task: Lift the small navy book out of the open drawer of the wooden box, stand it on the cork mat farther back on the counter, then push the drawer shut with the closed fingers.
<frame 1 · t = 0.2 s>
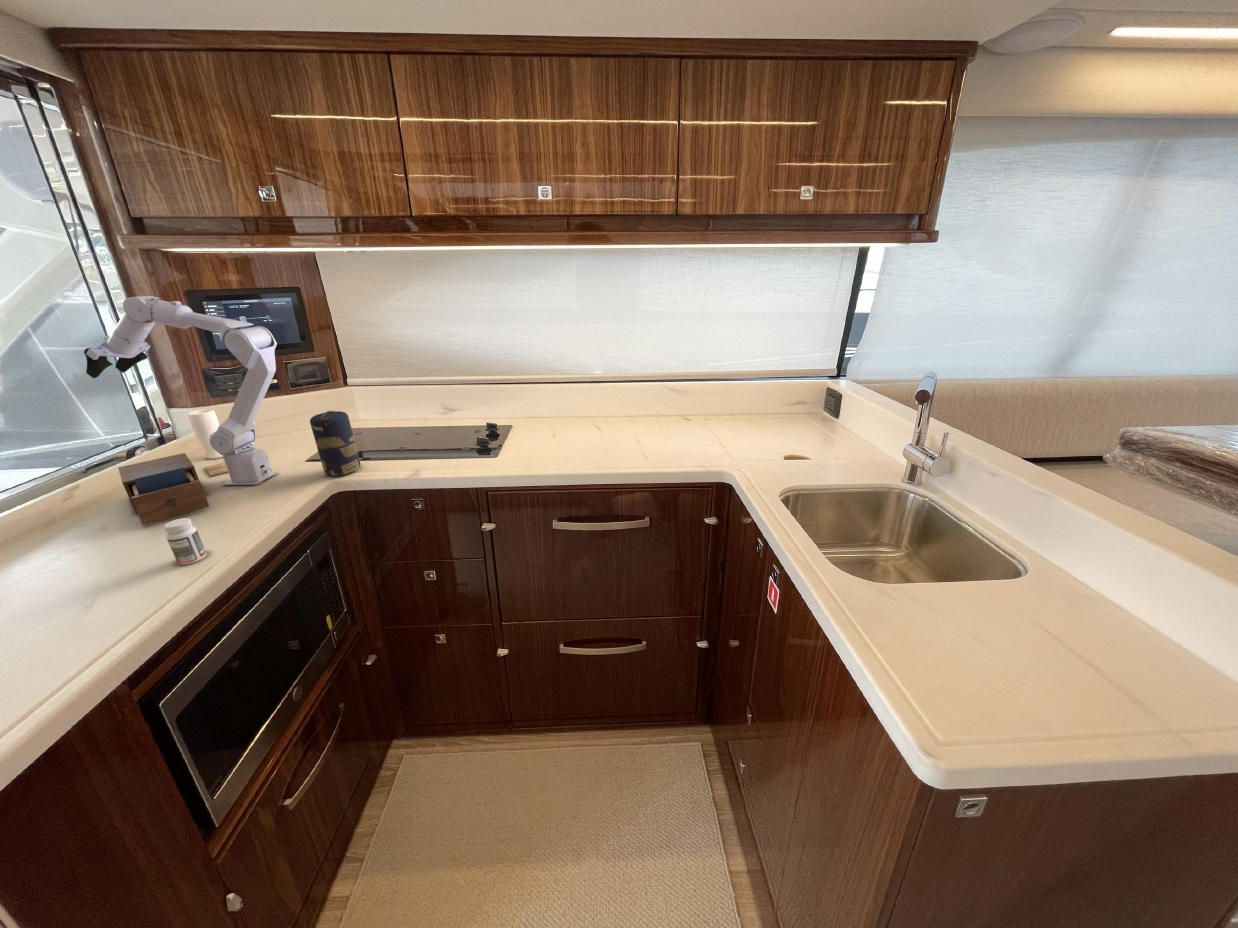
hand: (105, 372, 130), 31 cm above the worktop, tool tilted 50°, fingers open, 7 cm apart
book: (171, 503, 123), point 2 cm above the worktop, touching drawer
white tapered cylinder: (217, 457, 161), on the worktop
pill bottle: (192, 559, 101), on the worktop
wooden box: (168, 496, 132), on the worktop
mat: (228, 467, 151), on the worktop
drawer: (168, 495, 122), point 4 cm above the worktop, slide at 10.5 cm, touching book
canister: (343, 472, 144), on the worktop
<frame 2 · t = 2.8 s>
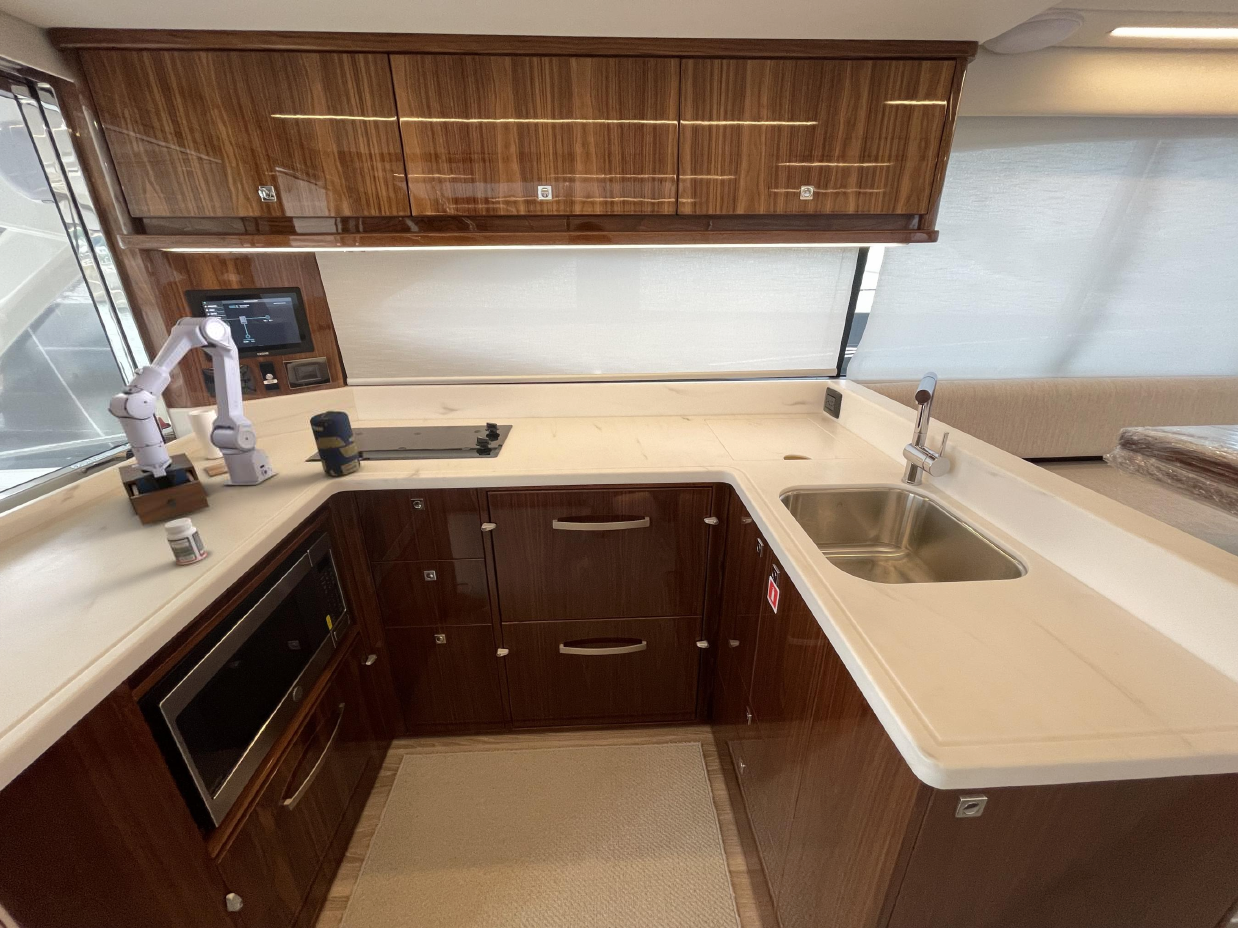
hand: (168, 496, 122), 4 cm above the worktop, tool pointing down, fingers open, 6 cm apart
nothing on the worktop moved.
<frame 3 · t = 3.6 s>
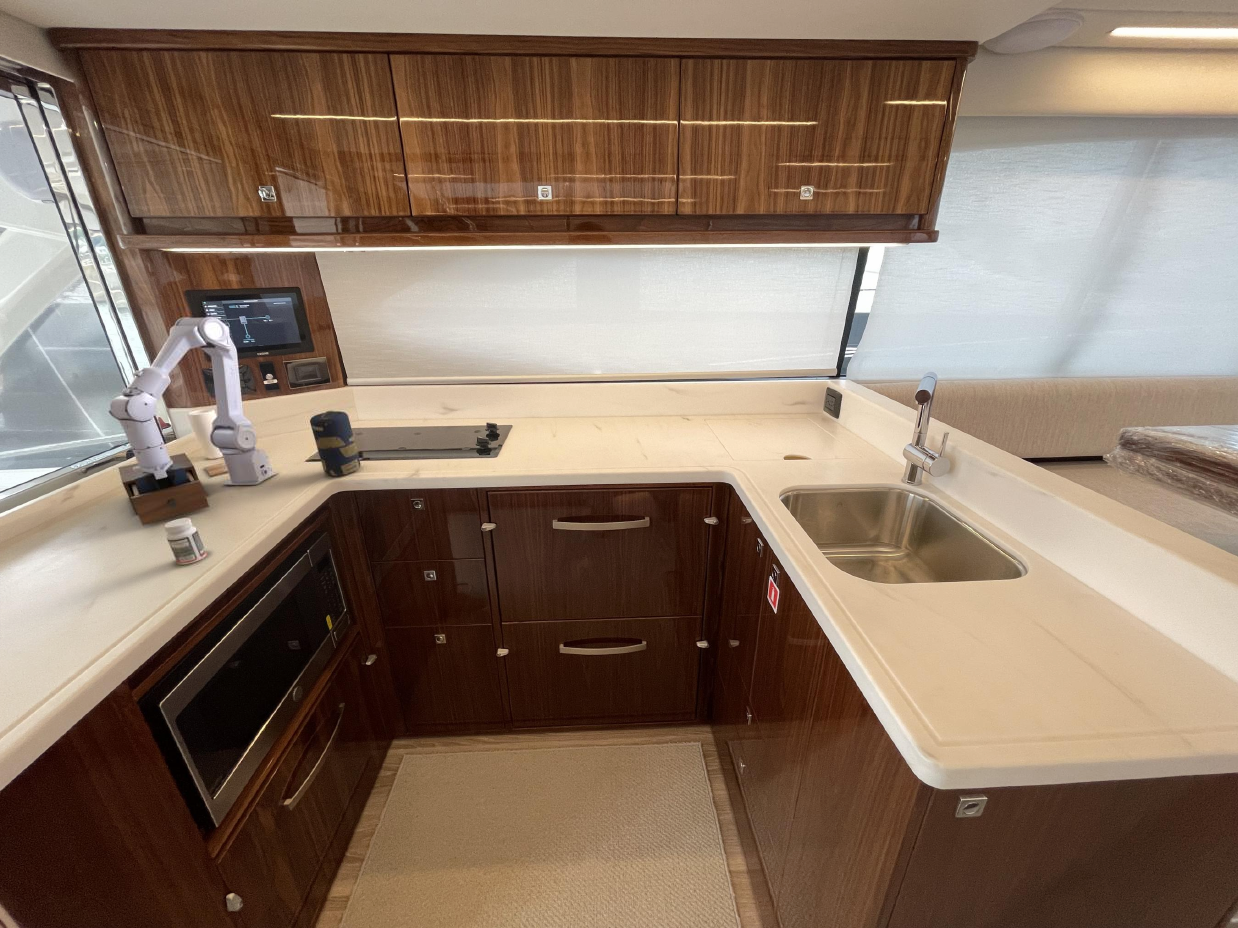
hand: (169, 498, 122), 3 cm above the worktop, tool pointing down, fingers closed on book, 3 cm apart
book: (171, 503, 123), point 2 cm above the worktop, touching drawer, gripper
everything else where it was.
when the fingers open (2 cm above the worktop, at t = 10.9 s): book stays where it is, resting on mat.
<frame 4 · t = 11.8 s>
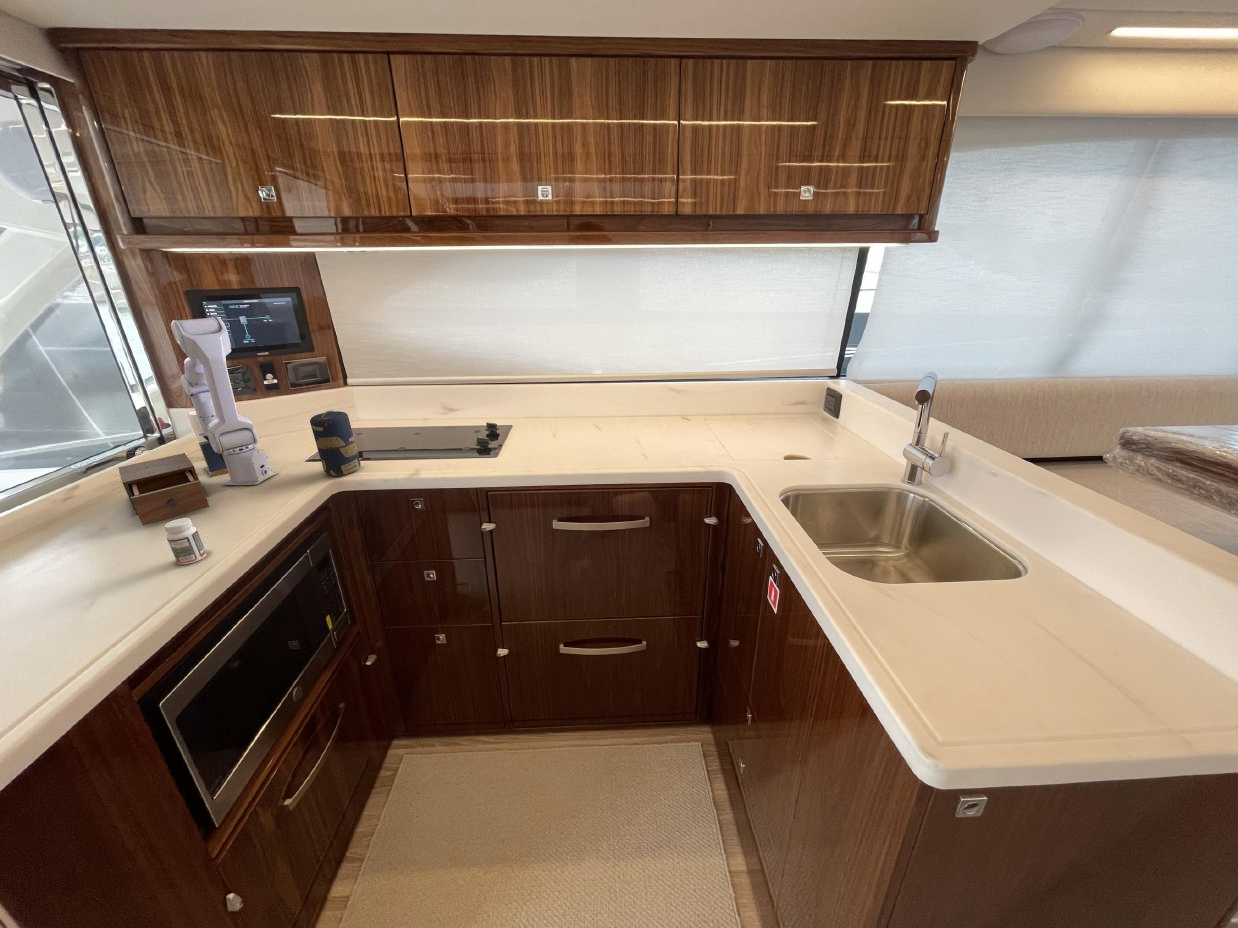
hand: (225, 459, 150), 3 cm above the worktop, tool pointing down, fingers open, 7 cm apart
book: (227, 466, 151), resting on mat
drawer: (168, 495, 122), point 4 cm above the worktop, slide at 10.5 cm
everything else where it was.
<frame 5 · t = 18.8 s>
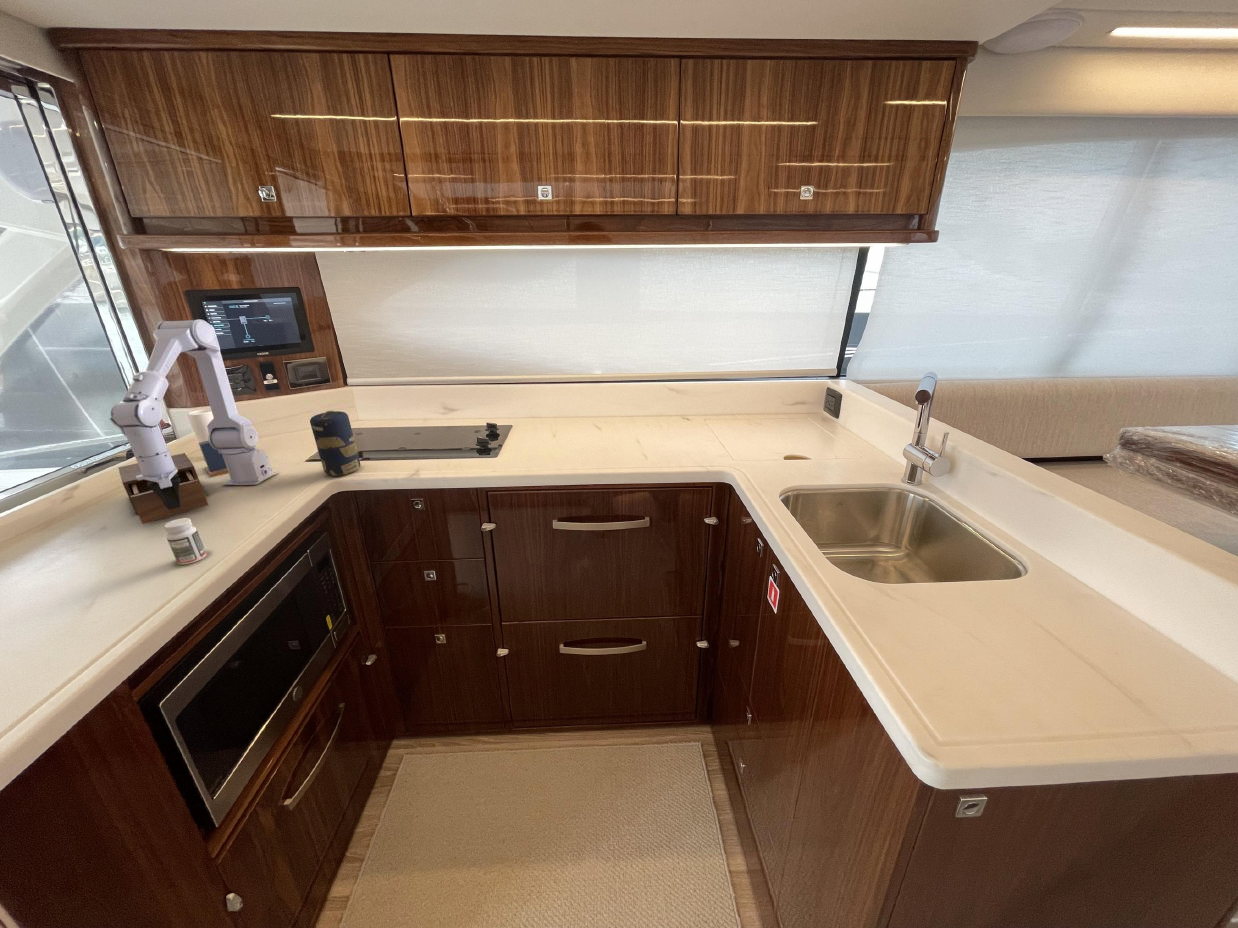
hand: (174, 507, 117), 3 cm above the worktop, tool pointing down, fingers closed
drawer: (167, 494, 122), point 4 cm above the worktop, slide at 9.5 cm, touching gripper
everything else where it was.
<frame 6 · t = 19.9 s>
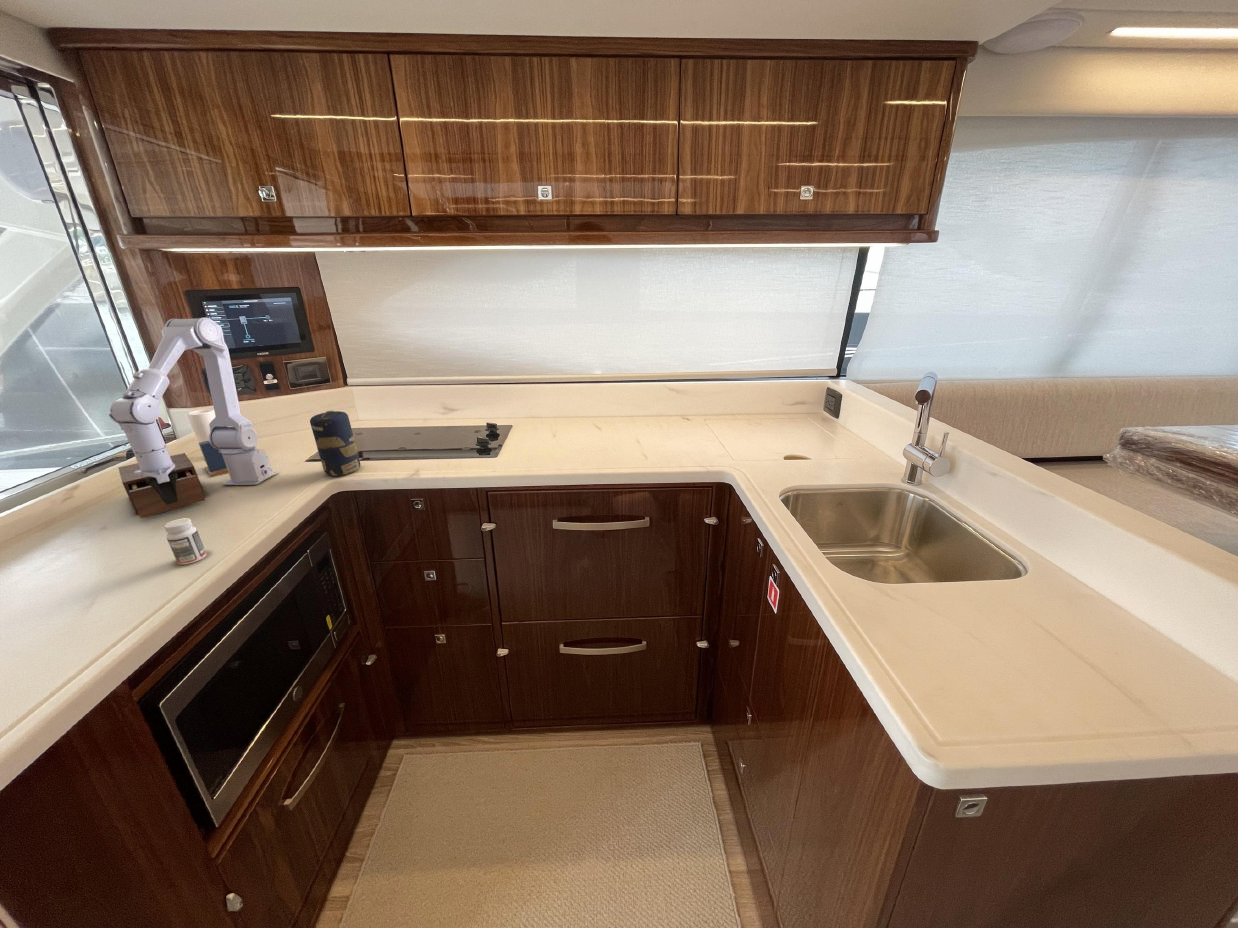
hand: (171, 502, 120), 3 cm above the worktop, tool pointing down, fingers closed
drawer: (165, 489, 125), point 4 cm above the worktop, slide at 5.2 cm, touching gripper
everything else where it was.
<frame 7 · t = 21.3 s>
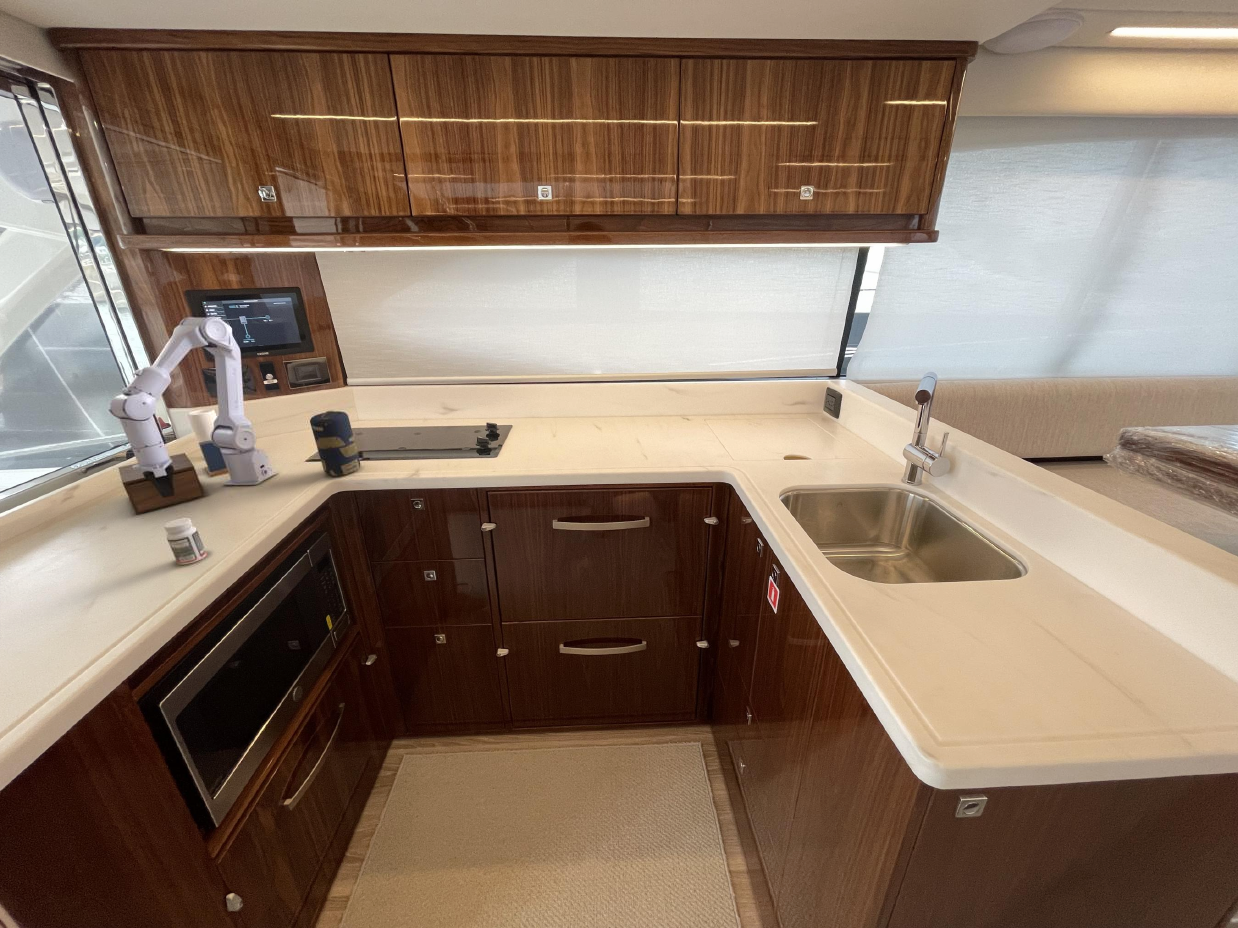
hand: (168, 496, 123), 3 cm above the worktop, tool pointing down, fingers closed, pressing on drawer
drawer: (163, 484, 129), point 4 cm above the worktop, slide at 0.0 cm, touching wooden box, gripper
everything else where it was.
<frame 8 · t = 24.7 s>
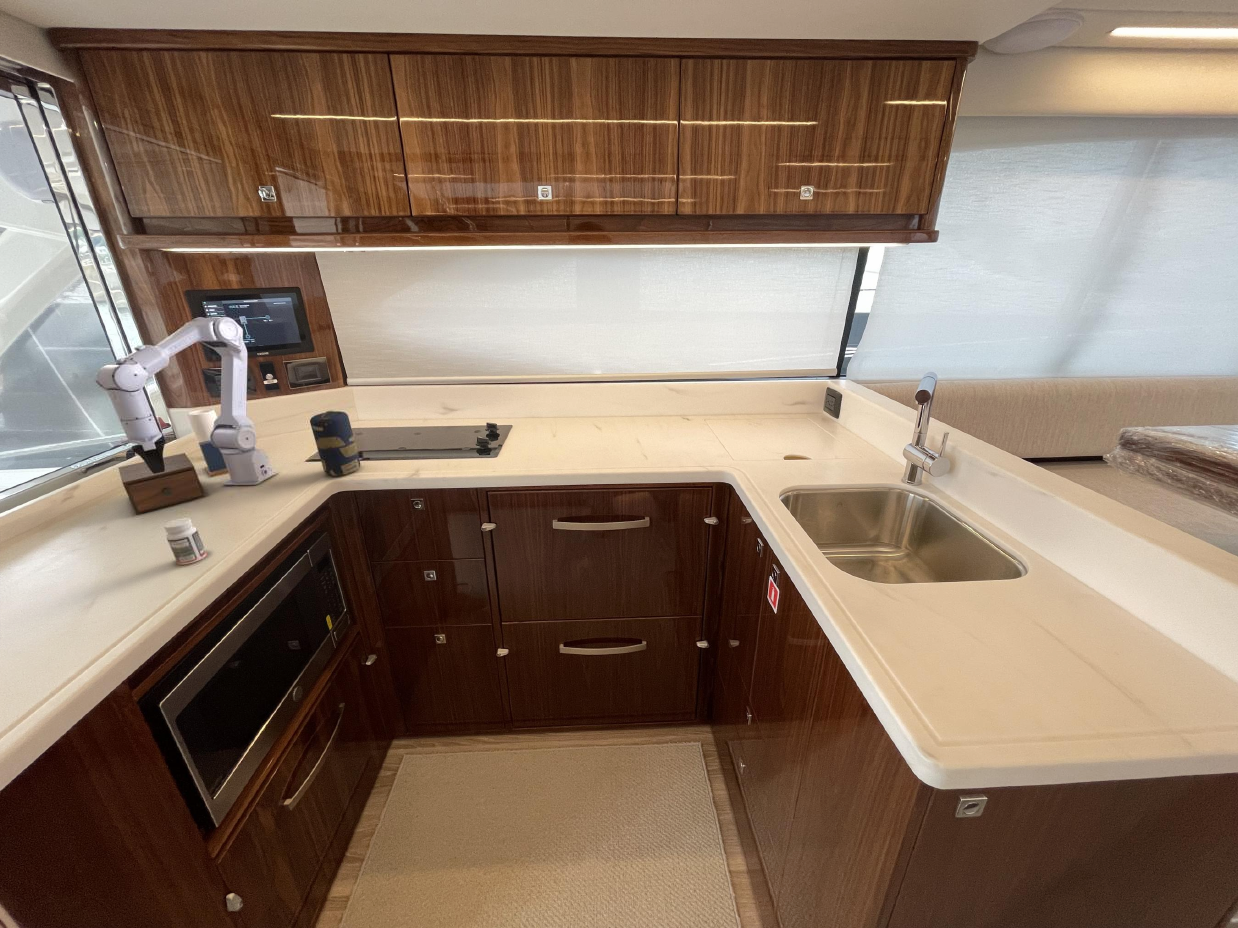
hand: (159, 472, 119), 10 cm above the worktop, tool pointing down, fingers closed
drawer: (163, 484, 129), point 4 cm above the worktop, slide at 0.0 cm, touching wooden box
everything else where it was.
at the end: book inside the target area on the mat (0.1 cm from its centre), point 0.4 cm above the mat's base; drawer slide at 0.0 cm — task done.
